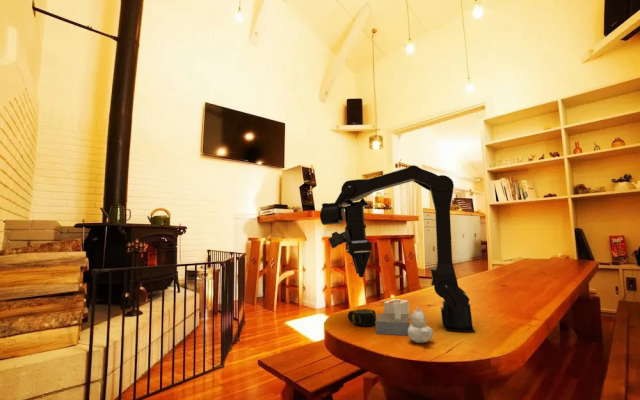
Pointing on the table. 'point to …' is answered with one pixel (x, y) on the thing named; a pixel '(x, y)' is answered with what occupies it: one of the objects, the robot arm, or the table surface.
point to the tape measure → (362, 317)
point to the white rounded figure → (419, 328)
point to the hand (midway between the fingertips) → (359, 275)
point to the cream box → (390, 306)
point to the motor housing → (393, 322)
